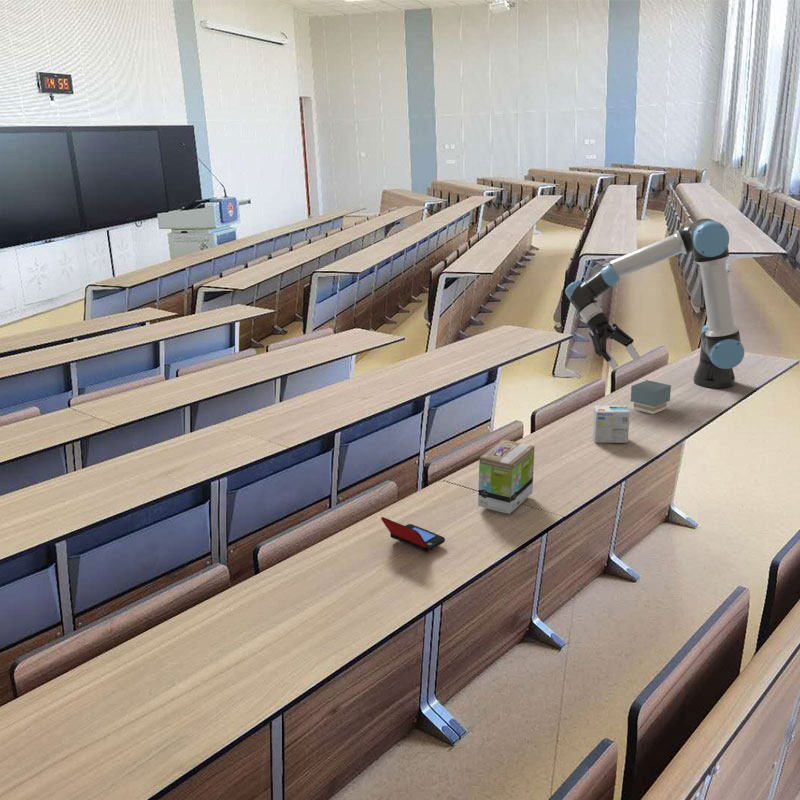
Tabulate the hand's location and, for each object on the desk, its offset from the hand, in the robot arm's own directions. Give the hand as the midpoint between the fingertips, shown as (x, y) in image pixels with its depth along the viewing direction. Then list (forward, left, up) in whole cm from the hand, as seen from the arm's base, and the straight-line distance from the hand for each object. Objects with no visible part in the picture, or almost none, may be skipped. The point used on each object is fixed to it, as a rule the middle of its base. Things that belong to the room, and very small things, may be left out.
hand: (627, 363), depth 283 cm
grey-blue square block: (-5, +9, -12) cm, 16 cm away
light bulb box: (+21, +33, -15) cm, 42 cm away
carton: (-5, +9, -15) cm, 18 cm away
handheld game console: (+96, +85, -15) cm, 129 cm away
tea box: (+67, +68, -15) cm, 96 cm away
